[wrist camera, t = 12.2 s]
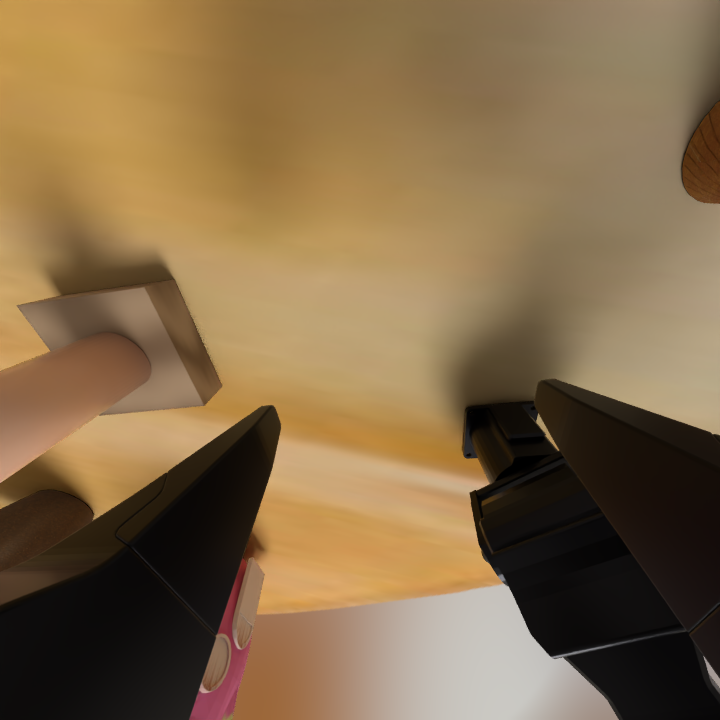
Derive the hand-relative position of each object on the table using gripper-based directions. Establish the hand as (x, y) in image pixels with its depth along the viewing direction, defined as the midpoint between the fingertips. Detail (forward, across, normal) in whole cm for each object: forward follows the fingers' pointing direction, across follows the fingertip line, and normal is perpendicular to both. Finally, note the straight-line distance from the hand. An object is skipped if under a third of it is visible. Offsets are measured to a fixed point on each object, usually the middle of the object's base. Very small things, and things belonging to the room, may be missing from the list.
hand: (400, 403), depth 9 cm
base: (+13, +21, +1) cm, 25 cm away
